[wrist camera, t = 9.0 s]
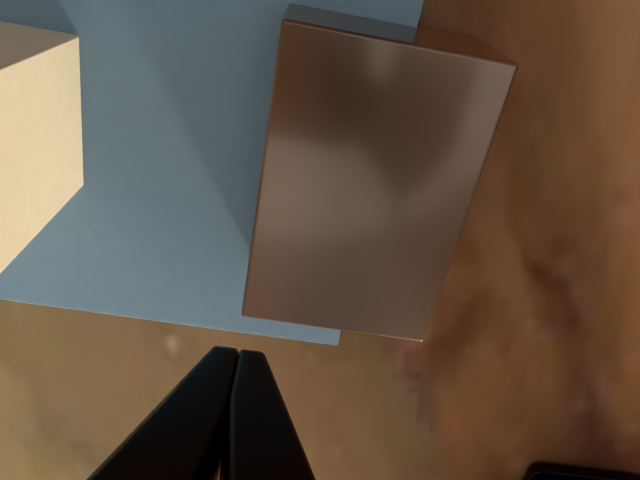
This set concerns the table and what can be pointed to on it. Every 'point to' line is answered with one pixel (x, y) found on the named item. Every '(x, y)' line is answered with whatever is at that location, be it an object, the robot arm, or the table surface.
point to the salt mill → (37, 131)
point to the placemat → (166, 158)
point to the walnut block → (368, 170)
